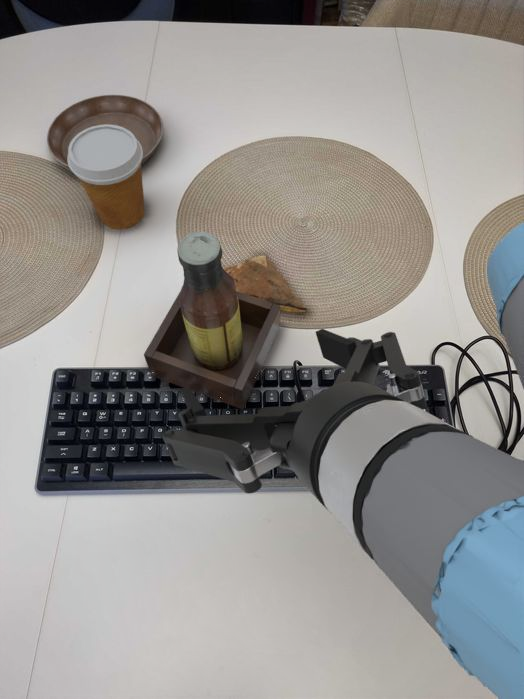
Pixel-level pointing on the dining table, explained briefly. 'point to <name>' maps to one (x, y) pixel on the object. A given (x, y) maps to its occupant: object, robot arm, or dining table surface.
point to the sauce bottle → (209, 302)
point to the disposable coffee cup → (110, 173)
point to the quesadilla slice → (264, 283)
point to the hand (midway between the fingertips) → (257, 371)
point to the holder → (186, 371)
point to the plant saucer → (106, 122)
